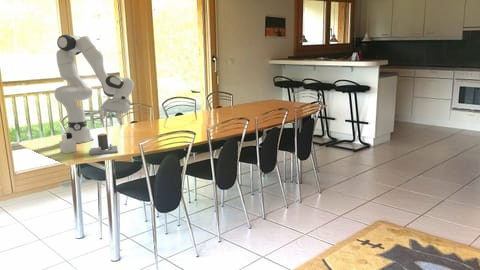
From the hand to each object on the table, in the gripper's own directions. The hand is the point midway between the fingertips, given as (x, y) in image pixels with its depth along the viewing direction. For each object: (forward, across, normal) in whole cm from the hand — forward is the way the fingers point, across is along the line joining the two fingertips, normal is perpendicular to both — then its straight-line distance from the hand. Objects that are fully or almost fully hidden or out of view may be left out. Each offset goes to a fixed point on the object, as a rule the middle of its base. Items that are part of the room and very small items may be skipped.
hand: (109, 116), depth 273 cm
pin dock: (+22, +5, +5) cm, 23 cm away
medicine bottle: (+29, -16, 0) cm, 33 cm away
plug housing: (+21, +5, +4) cm, 22 cm away
